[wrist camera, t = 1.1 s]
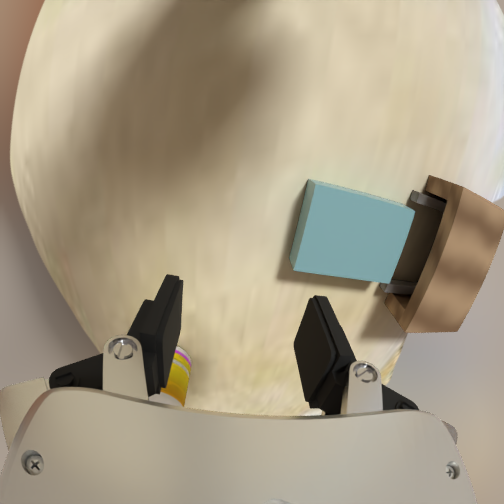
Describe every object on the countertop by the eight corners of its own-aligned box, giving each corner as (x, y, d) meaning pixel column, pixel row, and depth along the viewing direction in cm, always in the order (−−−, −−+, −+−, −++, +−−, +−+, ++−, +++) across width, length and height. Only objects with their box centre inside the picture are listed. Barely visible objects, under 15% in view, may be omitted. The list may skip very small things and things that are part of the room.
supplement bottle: (156, 333, 34) (131, 409, 23) (199, 353, 36) (188, 430, 24) (143, 360, 37) (120, 428, 25) (182, 377, 38) (169, 447, 27)
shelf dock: (417, 170, 26) (452, 181, 20) (478, 198, 28) (508, 212, 22) (372, 302, 33) (392, 332, 27) (436, 307, 35) (457, 331, 29)
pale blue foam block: (308, 178, 27) (315, 184, 24) (402, 203, 28) (415, 211, 25) (289, 257, 30) (293, 270, 28) (378, 271, 32) (389, 283, 29)
